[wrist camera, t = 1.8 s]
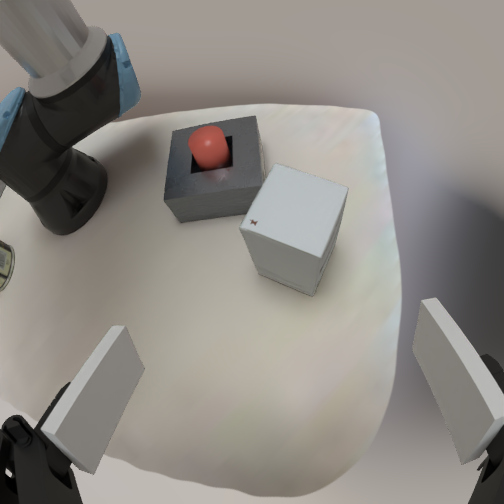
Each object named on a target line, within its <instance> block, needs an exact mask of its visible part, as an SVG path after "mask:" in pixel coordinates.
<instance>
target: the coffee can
mask: <svg viewBox="0 0 504 504" xmlns="http://www.w3.org/2000/svg"><path fill="white" fill-rule="evenodd" d="M14 259H15V257H14V250H13V248H12V247H11V246H10V245H7V244H6V243H4V242H2V241H0V291H2V290H3V289H4V288H5V286H6V285H7V284H8V282H9V280H10V278H11V275H12V271H13V267H14Z"/></svg>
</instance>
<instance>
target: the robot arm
mask: <svg viewBox="0 0 504 504" xmlns="http://www.w3.org/2000/svg"><path fill="white" fill-rule="evenodd" d="M0 45H1V46H2V47H3V48H4V49H5V50H6V51H7V52H8V53H9V54H10V55H11V56H12V57H13V58H14V59H15V60H16V61H17V62H18V63H19V64H20V65H21V66H22V67H23V68H24V69H25V70H26V71H27V72H28V73H29V74H30V78H29V83H28V85H29V86H28V87H29V91H28V92H25V89H24V88H21V87H17V88H16V89H15V90H13V91H11V92H10V93H9V94H8V95H7V96H6V97H5V98H4V100H3V101H2V102H1V103H0V180H1V181H2V182H4V183H5V184H6V185H7V186H9V187H10V188H11V189H12V190H14V191H15V192H16V193H17V194H19V195H20V196H21V197H23V198H24V199H25V200H26V201H28V202H29V203H30V205H31V206H32V208H33V210H34V211H35V213H36V214H37V216H38V217H39V219H40V220H41V222H42V224H43V225H44V226H45V227H46V228H47V229H48V230H50V231H51V232H53V233H55V234H58V235H65V234H68V233H71V232H73V231H75V230H77V229H78V228H80V227H81V226H82V225H83V224H84V223H85V222H87V221H88V219H89V218H90V217H91V216H92V215H93V214H94V212H95V211H96V209H97V208H98V206H99V204H100V203H101V201H102V198H103V196H104V194H105V190H106V186H107V174H106V171H105V169H104V168H103V166H102V165H101V164H100V163H99V162H98V161H97V160H96V159H95V158H93V157H91V156H88V155H86V154H84V153H82V152H80V151H78V150H76V149H74V148H72V146H73V145H75V144H76V143H78V142H79V141H81V140H82V139H84V138H85V137H87V136H88V135H90V134H92V133H93V132H95V131H96V130H98V129H100V128H101V127H103V126H104V125H106V124H108V123H110V122H111V121H113V120H115V119H116V118H119V117H120V116H122V114H123V113H125V112H126V111H128V110H129V109H131V108H132V107H134V106H136V105H137V104H138V102H139V101H140V98H141V91H140V87H139V84H138V82H137V78H136V75H135V72H134V70H133V67H132V65H131V62H130V59H129V56H128V53H127V50H126V47H125V45H124V42H123V40H122V37H121V35H120V34H119V33H115V34H110V35H108V36H107V35H106V33H105V31H104V30H103V29H101V28H99V27H93V26H92V27H87V26H86V25H85V23H84V22H83V20H82V18H81V17H80V15H79V14H78V12H77V10H76V9H75V7H74V6H73V4H72V2H71V1H70V0H0ZM412 350H413V352H414V354H415V356H416V358H417V360H418V362H419V364H420V366H421V368H422V370H423V373H424V375H425V377H426V379H427V381H428V383H429V386H430V388H431V390H432V392H433V394H434V397H435V399H436V401H437V403H438V406H439V408H440V410H441V413H442V415H443V418H444V420H445V422H446V425H447V427H448V430H449V432H450V435H451V437H452V440H453V442H454V445H455V448H456V451H457V453H458V456H459V459H460V462H461V465H463V464H466V463H468V462H470V461H473V460H475V459H477V458H479V457H480V456H481V455H482V453H483V452H484V451H485V450H487V453H488V456H487V458H486V459H485V460H484V461H483V462H482V463H481V464H480V466H479V467H478V469H477V470H478V471H479V470H480V469H481V468H482V467H483V469H482V471H481V474H480V476H479V479H478V481H477V484H476V486H475V489H474V491H473V494H472V496H471V498H470V500H469V502H468V504H504V372H503V369H502V368H501V366H500V365H499V363H498V362H497V361H496V360H495V359H493V358H492V357H491V356H489V355H488V354H485V355H482V356H478V354H477V352H476V351H475V350H474V348H473V346H472V345H471V344H470V342H469V341H468V340H467V338H466V337H465V335H464V334H463V332H462V331H461V330H460V329H459V327H458V326H457V324H456V323H455V322H454V320H453V319H452V318H451V317H450V315H449V314H448V313H447V311H446V310H445V309H444V307H443V306H442V305H441V303H440V302H439V301H438V300H437V298H431V299H426V300H421V304H420V311H419V317H418V322H417V328H416V333H415V339H414V343H413V348H412ZM144 369H145V368H144V366H143V364H142V362H141V360H140V358H139V355H138V353H137V351H136V349H135V347H134V344H133V342H132V340H131V337H130V335H129V333H128V330H127V328H126V326H116V325H113V326H112V327H111V328H110V330H109V331H108V332H107V334H106V335H105V336H104V338H103V339H102V340H101V342H100V343H99V344H98V346H97V347H96V348H95V350H94V351H93V353H92V354H91V355H90V357H89V358H88V359H87V361H86V362H85V364H84V365H83V366H82V368H81V369H80V371H79V372H78V374H77V375H76V376H75V378H74V379H73V381H72V382H69V383H67V384H66V385H65V386H64V387H63V388H61V390H60V391H59V392H58V394H57V395H56V397H55V399H54V400H53V401H52V403H51V406H49V407H48V409H47V410H46V412H45V413H44V415H43V416H42V418H41V419H40V421H39V422H38V424H37V425H36V427H35V428H34V430H33V428H32V427H31V426H30V425H29V424H28V423H27V421H26V420H25V419H24V418H23V417H22V416H20V415H13V416H11V417H9V418H8V419H7V420H6V421H5V422H4V424H3V425H2V429H0V504H83V503H82V500H81V497H80V493H79V490H78V487H77V483H76V480H75V476H74V473H73V471H72V469H71V468H70V465H71V463H73V464H74V465H76V467H77V468H79V470H82V471H85V472H87V473H90V474H93V475H94V473H95V471H96V469H97V467H98V465H99V462H100V460H101V458H102V456H103V454H104V452H105V449H106V447H107V445H108V443H109V441H110V439H111V437H112V435H113V432H114V430H115V428H116V426H117V424H118V422H119V420H120V418H121V416H122V414H123V412H124V410H125V407H126V405H127V403H128V401H129V399H130V397H131V395H132V393H133V391H134V389H135V387H136V385H137V383H138V381H139V379H140V377H141V375H142V373H143V371H144ZM6 468H7V469H8V470H9V471H10V472H11V473H12V476H11V478H10V477H9V476H8V475H6V474H5V471H6Z"/></svg>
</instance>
